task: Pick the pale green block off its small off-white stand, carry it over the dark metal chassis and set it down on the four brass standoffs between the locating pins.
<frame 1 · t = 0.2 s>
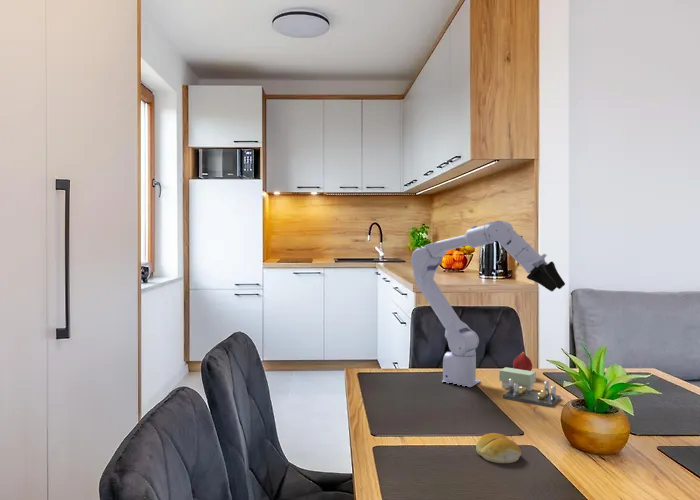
hand: (558, 287, 142), 31 cm above the table, tool tilted 45°, fingers open, 7 cm apart
stand: (517, 388, 153), on the table
bread roll: (498, 456, 106), on the table
pale green block: (517, 381, 153), point 2 cm above the table, touching stand
chassis: (531, 398, 143), on the table
onion: (522, 377, 166), on the table
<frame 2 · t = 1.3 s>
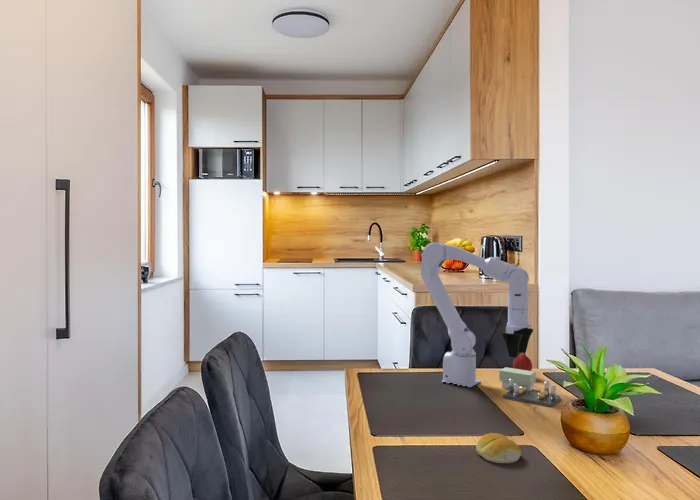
hand: (517, 354, 153), 10 cm above the table, tool pointing down, fingers open, 7 cm apart
nothing on the table moved.
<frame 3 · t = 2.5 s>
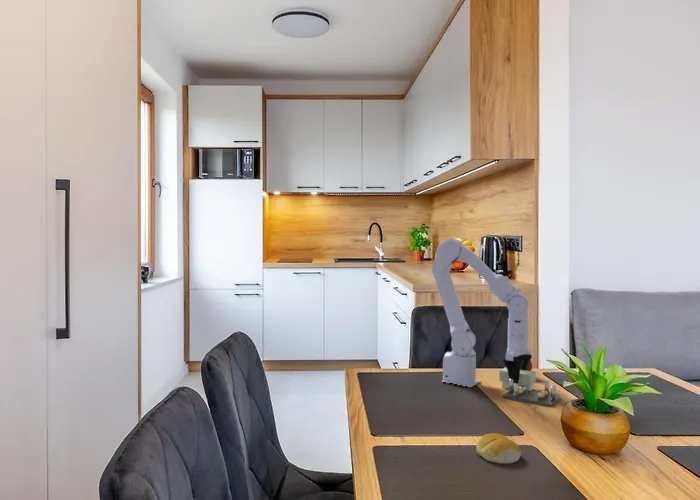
hand: (517, 380, 153), 2 cm above the table, tool pointing down, fingers closed on pale green block, 5 cm apart
pale green block: (517, 381, 153), point 2 cm above the table, touching gripper, stand
everything else where it was.
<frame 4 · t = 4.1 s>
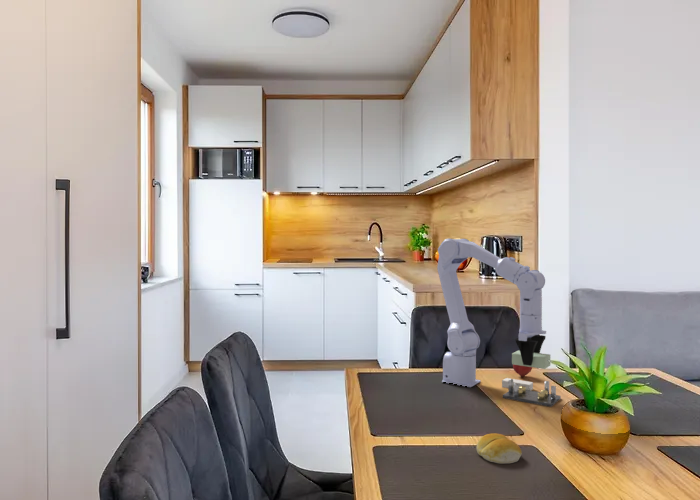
hand: (530, 363, 144), 10 cm above the table, tool pointing down, fingers closed on pale green block, 5 cm apart
pale green block: (531, 364, 144), point 9 cm above the table, touching gripper
everything else where it was.
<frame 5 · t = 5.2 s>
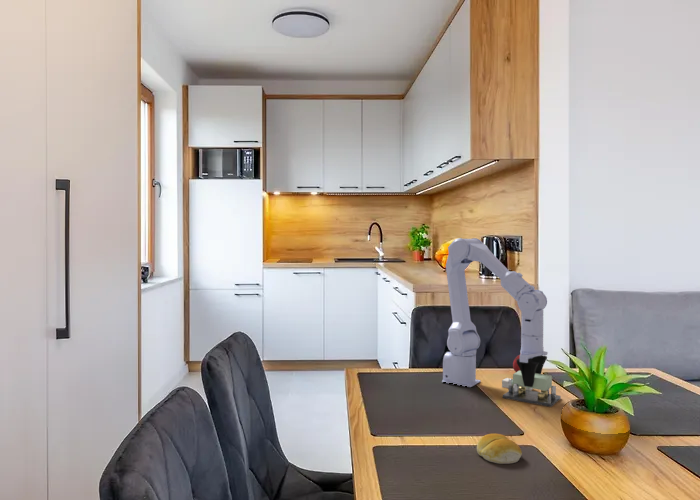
hand: (531, 383, 143), 4 cm above the table, tool pointing down, fingers closed on pale green block, 5 cm apart
pale green block: (532, 385, 143), point 4 cm above the table, touching gripper
everything else where it was.
when the fingers open (4 cm above the table, at t = 5.8 s): pale green block stays where it is, resting on chassis.
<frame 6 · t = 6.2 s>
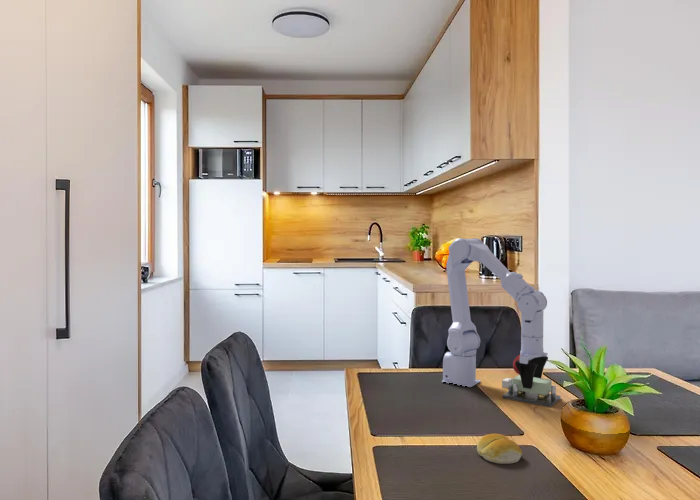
hand: (531, 384, 143), 4 cm above the table, tool pointing down, fingers open, 7 cm apart
pale green block: (532, 390, 143), point 2 cm above the table, touching chassis
everything else where it was.
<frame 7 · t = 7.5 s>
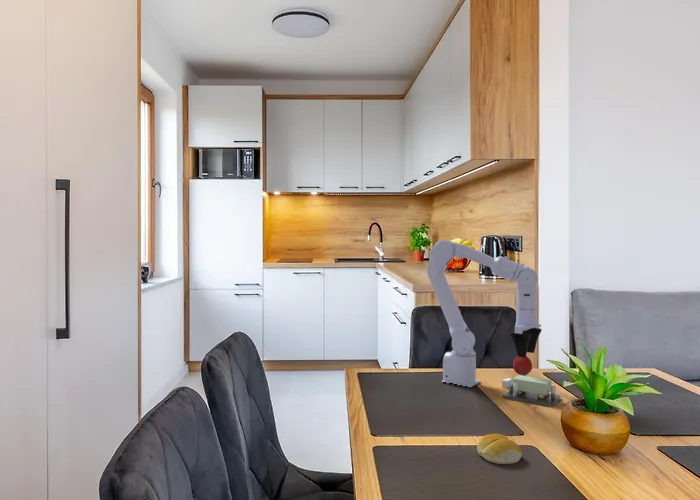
hand: (526, 354, 153), 10 cm above the table, tool pointing down, fingers open, 7 cm apart
nothing on the table moved.
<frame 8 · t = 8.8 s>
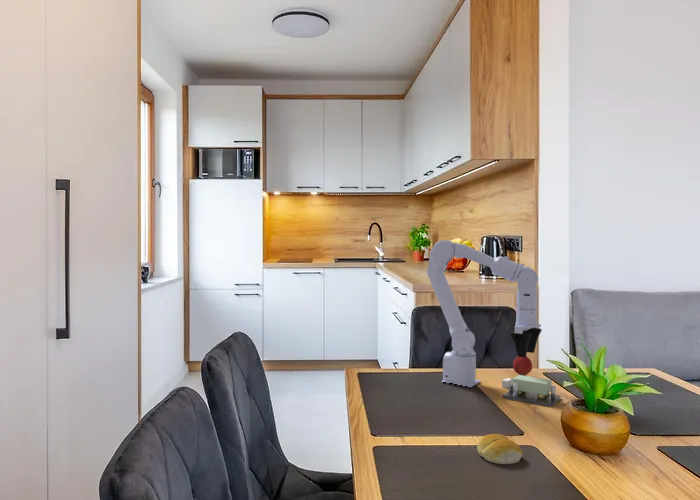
hand: (526, 354, 153), 10 cm above the table, tool pointing down, fingers open, 7 cm apart
nothing on the table moved.
at the end: pale green block 0.1 cm off-centre on the chassis, point 2.3 cm above the chassis's base; pale green block tilted 0°; the gripper is holding nothing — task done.
